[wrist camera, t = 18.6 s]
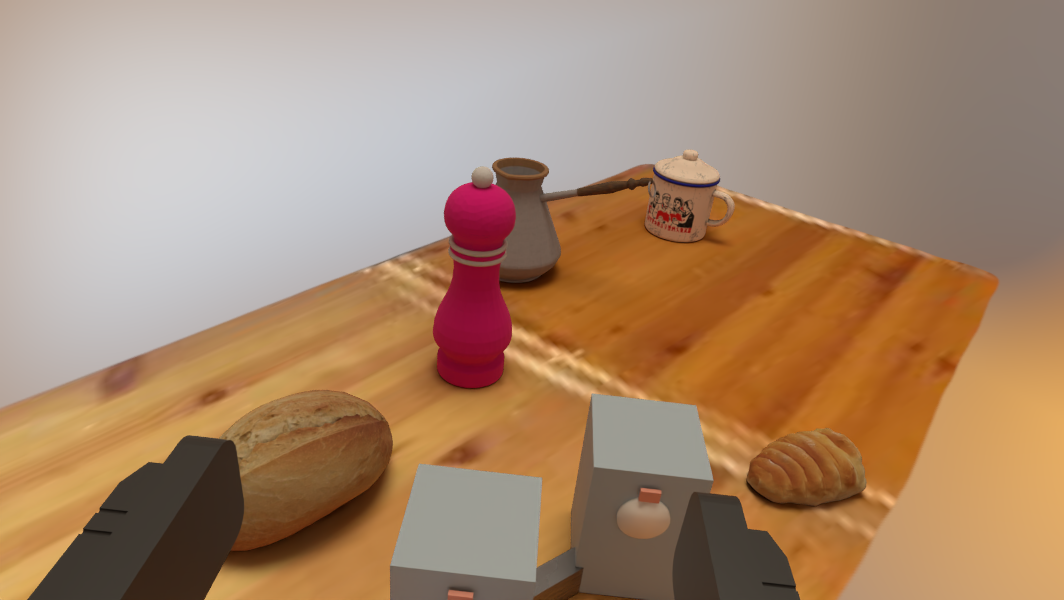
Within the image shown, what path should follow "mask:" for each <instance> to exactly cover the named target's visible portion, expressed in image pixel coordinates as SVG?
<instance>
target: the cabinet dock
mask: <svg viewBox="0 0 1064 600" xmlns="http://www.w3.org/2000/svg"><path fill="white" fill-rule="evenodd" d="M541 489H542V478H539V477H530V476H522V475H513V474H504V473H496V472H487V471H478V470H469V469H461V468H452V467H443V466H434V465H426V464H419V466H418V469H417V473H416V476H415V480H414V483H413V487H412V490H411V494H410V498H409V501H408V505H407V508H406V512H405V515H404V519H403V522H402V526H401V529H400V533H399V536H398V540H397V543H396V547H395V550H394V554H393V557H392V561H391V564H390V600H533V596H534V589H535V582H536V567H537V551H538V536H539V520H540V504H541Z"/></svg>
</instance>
